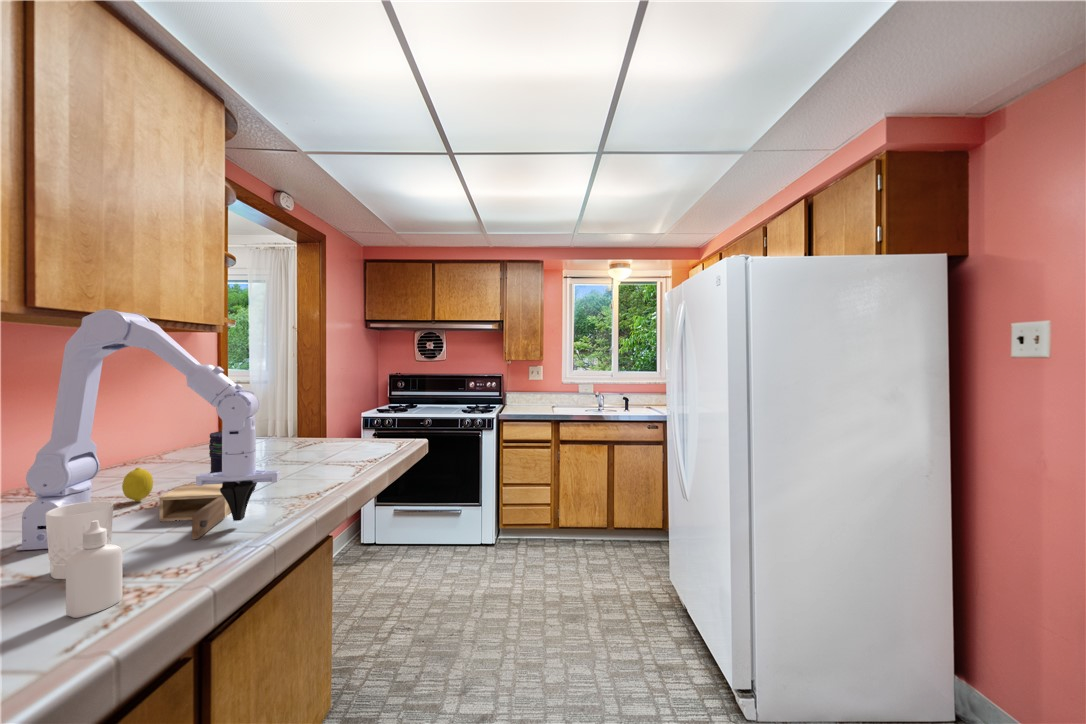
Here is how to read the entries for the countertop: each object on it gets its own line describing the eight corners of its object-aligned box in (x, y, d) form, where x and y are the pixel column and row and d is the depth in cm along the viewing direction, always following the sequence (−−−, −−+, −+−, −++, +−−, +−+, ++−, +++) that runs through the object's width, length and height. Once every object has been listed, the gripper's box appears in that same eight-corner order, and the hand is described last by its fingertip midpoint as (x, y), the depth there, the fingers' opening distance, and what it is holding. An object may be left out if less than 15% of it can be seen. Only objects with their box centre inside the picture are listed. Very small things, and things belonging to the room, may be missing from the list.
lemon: (159, 498, 116) (159, 465, 116) (137, 506, 110) (137, 471, 110) (138, 498, 116) (138, 464, 116) (115, 505, 111) (115, 470, 111)
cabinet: (224, 517, 103) (224, 494, 103) (159, 521, 100) (159, 497, 100) (242, 503, 113) (242, 482, 113) (183, 506, 110) (183, 484, 110)
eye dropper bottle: (68, 608, 66) (68, 520, 66) (123, 595, 70) (123, 512, 70) (63, 622, 63) (63, 530, 63) (121, 608, 66) (121, 521, 66)
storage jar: (234, 498, 116) (234, 436, 116) (198, 496, 118) (198, 435, 118) (264, 487, 126) (264, 430, 126) (231, 485, 128) (231, 429, 128)
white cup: (122, 557, 83) (122, 498, 83) (99, 577, 76) (99, 513, 75) (62, 563, 80) (62, 503, 80) (33, 585, 73) (33, 518, 73)
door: (229, 517, 103) (229, 495, 103) (203, 538, 91) (203, 514, 91) (220, 517, 103) (220, 496, 102) (192, 539, 91) (192, 514, 90)
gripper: (284, 446, 103) (284, 510, 103) (207, 448, 100) (207, 514, 100) (273, 453, 96) (273, 521, 96) (190, 456, 93) (190, 526, 93)
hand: (238, 519), depth 98 cm, fingers closed
